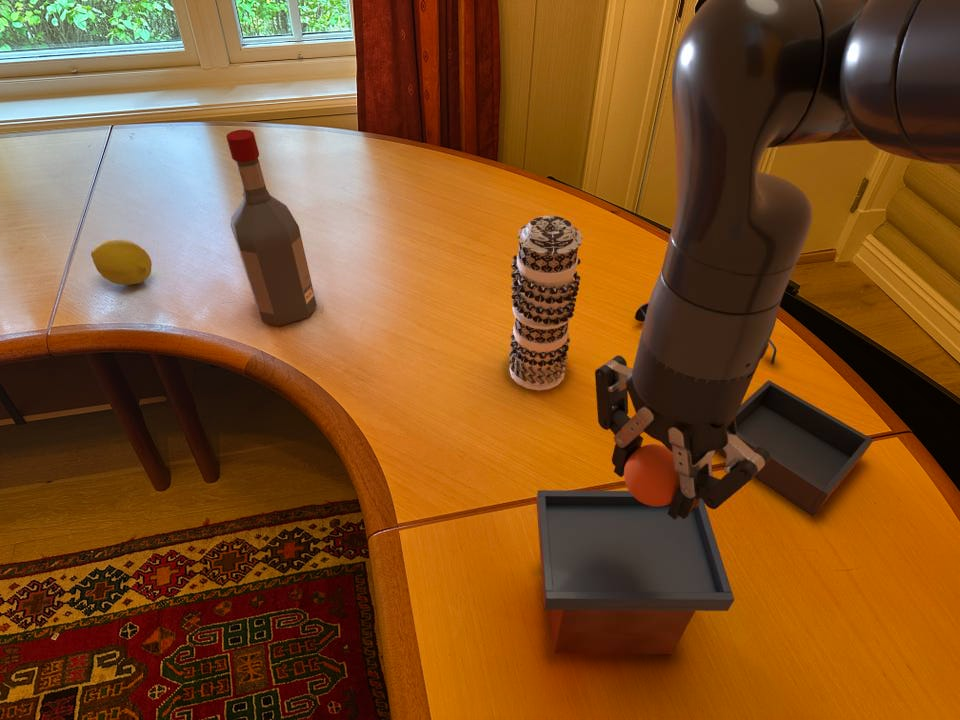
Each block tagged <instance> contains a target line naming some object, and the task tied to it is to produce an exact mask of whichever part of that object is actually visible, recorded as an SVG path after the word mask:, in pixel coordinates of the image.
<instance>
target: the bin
mask: <svg viewBox="0 0 960 720" xmlns="http://www.w3.org/2000/svg"><path fill="white" fill-rule="evenodd" d="M735 421H736V426H737V433H736V436H737V437H738V438H740V439H741V440H742V441H743V442H744V443H745V444H746V445H747V446H748V447H750V448H751V449H752V450H753V449H755V448H756V447H762V448H764V449H766V450H767V451H768V452H769V454H770V456H771V459H770V461H769V462H768V463H767V464H766V465H765V466H764V467H763V468H762V469H761V470H760V471H759V472H758V473H757V474H756V475H755V476H754V477H753V478H755V479H757V480H758V481H760V482H762V483H763V484H765V486H767V487H768V488H771V490H773V491H775V492H776V493H778V494H779V495H780V496H782V497H784V498H785V499H786V500H788V501H790V502H791V503H793V504H794V505H796V506H797V507H798V508H800V509H802V510H803V511H805V512H806V513H808V514H809V515H811V516H812V517H814V516H816V514H817V513H818V512H819V511H820V509H821V508H822V507H823V506H824V505H825V503H826V502H827V501H828V500H829V499H830V497H831V496H832V495H833V493H834V492H835V491H836V490H837V489H838V488H839V486H841V484H842V483H843V482H844V480H845V479H846V478H847V477H848V476H849V474H850V473H851V472H852V471H853V470H854V468H855V467H856V466H857V464H859V462H860V461H861V459H862V458H863V456H864V454H866V452H867V451H868V449H869V448H870V446H871V445H872V443H873V442H874V439H873V438H872V437H870V436H868V435H866V434H864V433H863V432H861V431H859V430H858V429H855V428H854V427H852V426H850V425H848V424H847V423H845V422H843V421H842V420H839V419H838V418H836V417H835V416H833V415H831V414H829V413H827V412H826V411H825V410H822V409H821V408H819V407H817V406H816V405H813V404H812V403H810V402H808V401H806V400H805V399H803V398H802V397H800V396H798V395H796V394H795V393H793V392H791V391H789V390H787V389H786V388H783V387H782V386H780V385H778V384H777V383H775V382H773V381H771V380H770V379H768V380H767V381H766V382H764V383H763V384H762V385H761V386H760V387H759V388H757V390H755V391H754V392H753V393H752V394H751V395H750V396H748V398H747V399H745V400H744V401H743V402H742V403H741V405H740V408H739V410H738V412H737V414H736V418H735ZM715 452H717V453H718V454H720V455H721V456H723V457H724V458H726V452H725V451H724V449H723V448H722V449H719V450H715Z"/></svg>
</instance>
